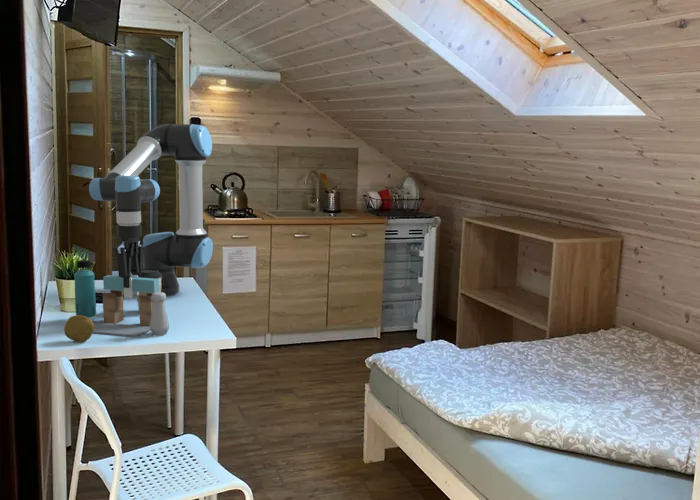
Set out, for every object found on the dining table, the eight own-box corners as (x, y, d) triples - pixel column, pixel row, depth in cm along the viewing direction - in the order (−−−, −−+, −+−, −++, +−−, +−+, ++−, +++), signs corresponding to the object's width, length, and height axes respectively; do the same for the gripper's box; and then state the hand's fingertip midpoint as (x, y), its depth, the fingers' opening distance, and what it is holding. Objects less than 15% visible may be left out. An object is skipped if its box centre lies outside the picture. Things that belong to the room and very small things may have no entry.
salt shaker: (146, 333, 218) (145, 292, 216) (162, 330, 222) (162, 289, 220) (155, 337, 214) (154, 295, 212) (172, 334, 218) (171, 293, 216)
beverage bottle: (101, 319, 233) (99, 260, 230) (84, 323, 227) (82, 262, 224) (87, 316, 236) (85, 257, 233) (71, 320, 231) (68, 260, 228)
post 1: (112, 319, 234) (111, 289, 232) (123, 320, 233) (122, 290, 231) (103, 323, 229) (102, 293, 227) (114, 324, 228) (113, 294, 226)
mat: (97, 323, 228) (97, 322, 228) (153, 328, 223) (153, 327, 223) (78, 331, 218) (78, 330, 218) (137, 337, 214) (137, 335, 214)
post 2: (148, 322, 231) (147, 292, 229) (159, 323, 230) (158, 293, 229) (140, 326, 226) (139, 296, 224) (151, 327, 225) (150, 296, 223)
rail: (108, 287, 231) (108, 275, 231) (158, 290, 227) (158, 278, 227) (103, 289, 228) (103, 276, 228) (154, 292, 224) (154, 280, 224)
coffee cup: (155, 316, 239) (154, 272, 237) (130, 314, 241) (129, 271, 238) (167, 309, 248) (166, 268, 245) (143, 308, 250) (142, 266, 247)
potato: (63, 340, 209) (61, 314, 208) (89, 336, 213) (88, 311, 212) (68, 346, 203) (67, 319, 202) (96, 342, 208) (95, 316, 206)
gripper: (131, 220, 233) (133, 289, 237) (104, 226, 217) (107, 300, 221) (152, 221, 231) (154, 291, 235) (126, 228, 216) (128, 302, 220)
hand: (131, 295), depth 228 cm, fingers closed on rail, 3 cm apart
